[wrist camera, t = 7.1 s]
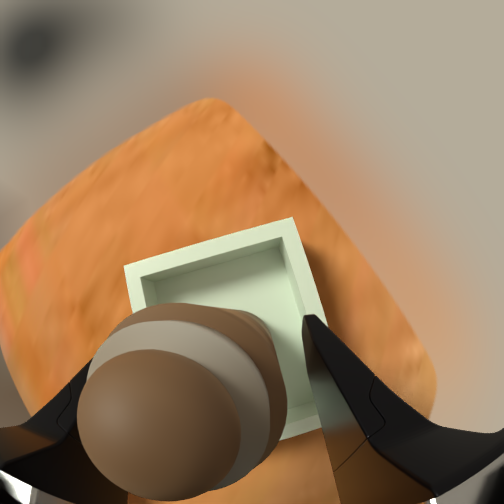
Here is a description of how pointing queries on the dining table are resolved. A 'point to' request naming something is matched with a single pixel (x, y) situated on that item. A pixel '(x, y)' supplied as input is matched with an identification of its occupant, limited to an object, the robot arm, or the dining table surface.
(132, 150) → the dining table surface
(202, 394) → the pepper mill
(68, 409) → the robot arm
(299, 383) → the serving tray
